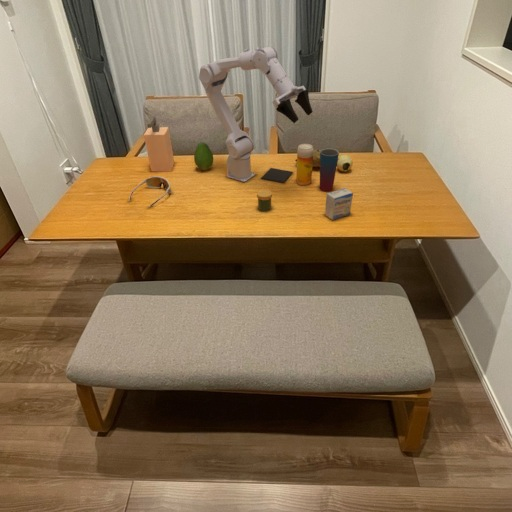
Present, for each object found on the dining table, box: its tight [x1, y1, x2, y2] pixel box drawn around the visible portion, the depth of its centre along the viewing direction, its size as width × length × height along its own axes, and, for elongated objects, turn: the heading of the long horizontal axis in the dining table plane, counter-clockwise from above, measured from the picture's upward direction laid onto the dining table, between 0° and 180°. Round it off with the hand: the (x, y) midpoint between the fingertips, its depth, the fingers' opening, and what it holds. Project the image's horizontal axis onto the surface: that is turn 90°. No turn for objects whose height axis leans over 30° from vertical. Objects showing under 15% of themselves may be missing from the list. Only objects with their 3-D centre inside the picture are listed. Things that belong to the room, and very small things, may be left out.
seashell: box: [295, 148, 322, 168], centre depth 163 cm, size 11×14×10 cm
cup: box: [319, 147, 340, 193], centre depth 146 cm, size 7×7×15 cm
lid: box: [256, 189, 273, 200], centre depth 137 cm, size 5×5×1 cm
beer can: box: [295, 143, 315, 186], centre depth 150 cm, size 6×6×15 cm
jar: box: [257, 198, 272, 213], centre depth 138 cm, size 5×5×6 cm
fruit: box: [193, 142, 214, 171], centre depth 163 cm, size 8×8×12 cm
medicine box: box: [324, 188, 354, 221], centre depth 133 cm, size 8×4×9 cm, turn 118°
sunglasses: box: [128, 175, 172, 208], centre depth 149 cm, size 14×15×5 cm
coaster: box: [260, 167, 294, 184], centre depth 160 cm, size 10×10×1 cm
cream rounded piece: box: [336, 154, 354, 172], centre depth 160 cm, size 6×7×7 cm
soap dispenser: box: [143, 115, 175, 173], centre depth 161 cm, size 13×9×22 cm
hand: (303, 117), depth 128 cm, fingers open, 7 cm apart
